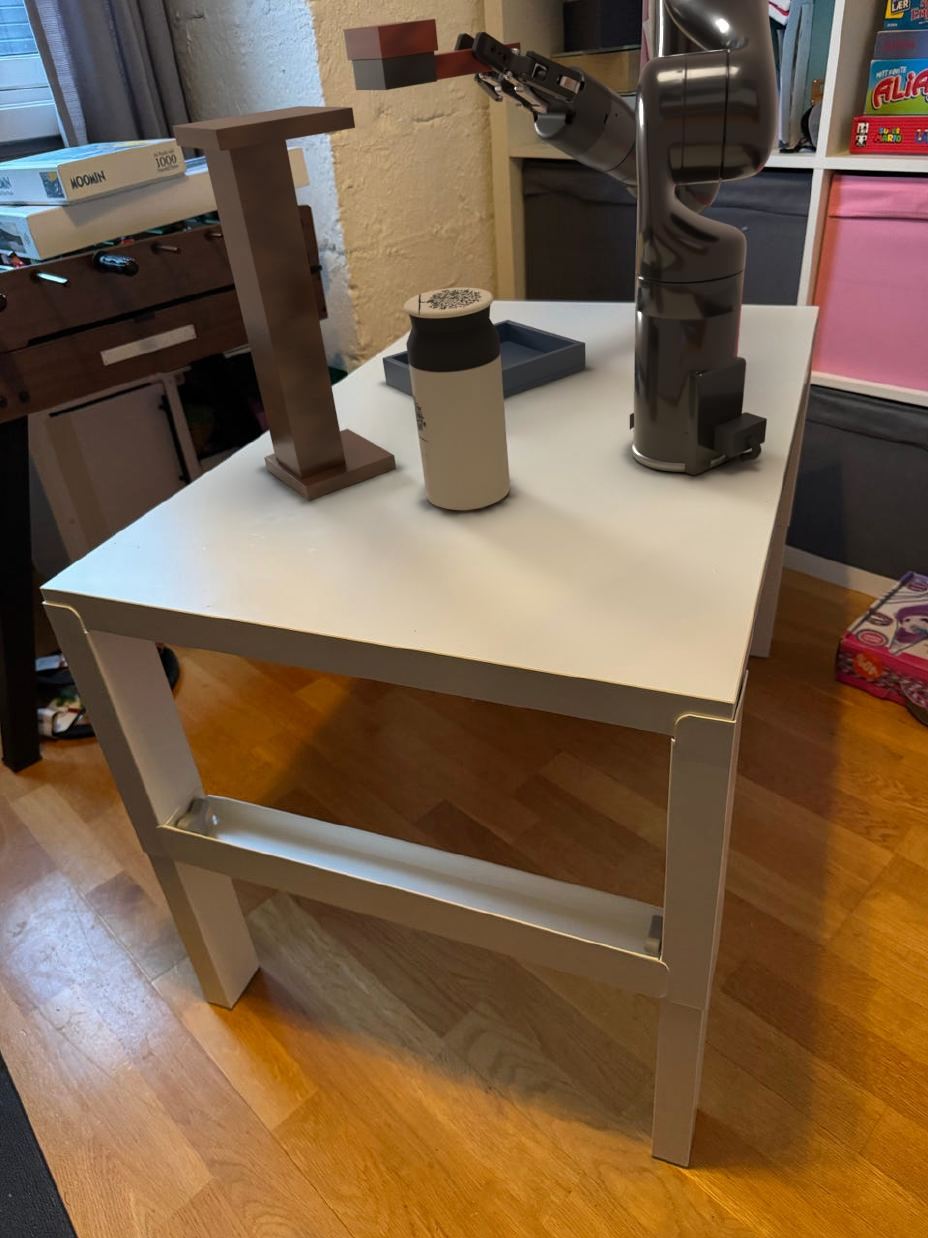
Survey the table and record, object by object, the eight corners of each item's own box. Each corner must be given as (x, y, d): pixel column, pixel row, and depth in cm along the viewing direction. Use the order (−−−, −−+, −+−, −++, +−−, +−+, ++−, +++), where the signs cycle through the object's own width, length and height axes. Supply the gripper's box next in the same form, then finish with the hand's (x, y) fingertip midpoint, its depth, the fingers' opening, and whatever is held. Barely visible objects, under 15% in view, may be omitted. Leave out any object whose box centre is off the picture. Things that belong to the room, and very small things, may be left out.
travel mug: (512, 473, 86) (499, 283, 76) (507, 511, 80) (491, 309, 70) (433, 476, 87) (409, 289, 77) (420, 514, 81) (393, 316, 71)
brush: (386, 90, 79) (378, 25, 76) (351, 90, 83) (342, 29, 80) (534, 65, 86) (531, 5, 83) (495, 66, 90) (491, 9, 88)
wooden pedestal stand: (299, 504, 85) (215, 129, 67) (258, 472, 92) (171, 125, 74) (404, 465, 90) (352, 106, 72) (357, 438, 97) (299, 105, 79)
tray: (585, 369, 108) (585, 342, 107) (455, 415, 100) (452, 387, 98) (509, 343, 119) (507, 319, 118) (386, 383, 111) (382, 357, 109)
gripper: (557, 84, 99) (438, 4, 88) (645, 83, 90) (525, -7, 78) (534, 154, 102) (415, 85, 90) (618, 160, 92) (497, 84, 80)
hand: (467, 43), depth 84 cm, fingers closed on brush, 2 cm apart
